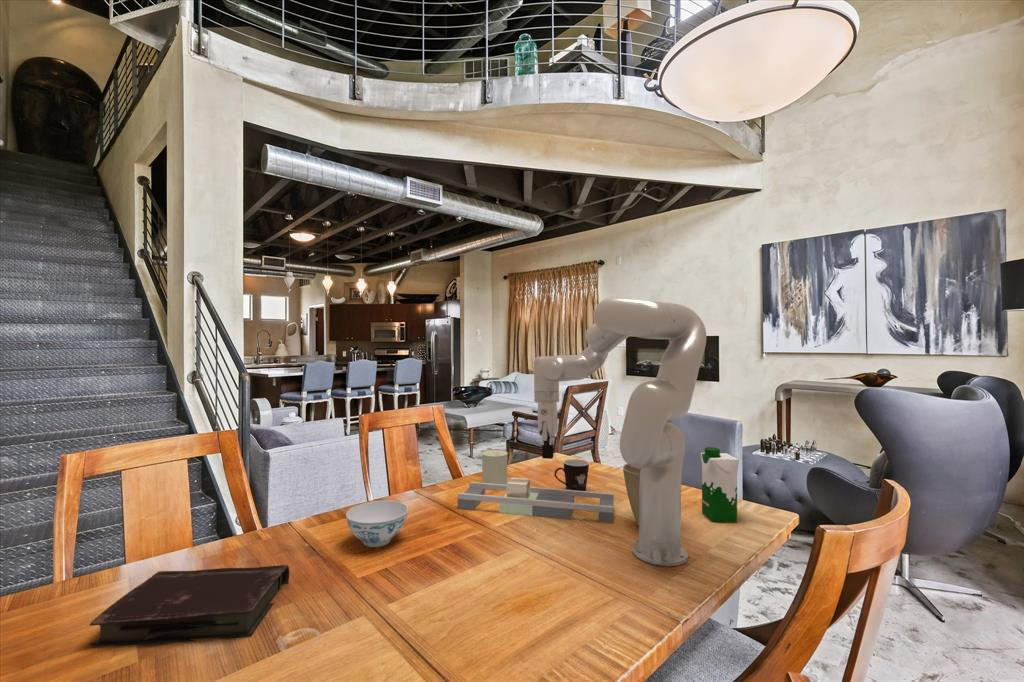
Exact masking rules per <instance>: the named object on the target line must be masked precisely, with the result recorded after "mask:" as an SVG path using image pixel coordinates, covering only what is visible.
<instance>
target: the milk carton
mask: <svg viewBox="0 0 1024 682" xmlns="http://www.w3.org/2000/svg"><path fill="white" fill-rule="evenodd" d="M700 460H701V468H702V469H701V513H702V514H703V515H704V516H705V517H706V518H707V519H708V520H709V521H710V522H711V523H738V469H739V461H740V459H738V458H737V457H734V456H732V455H731V454H728V453H727V452H725V453H724V452H723V453H722V452H721V449H720V448H718V447H712V446H708V447H704V452H700Z"/></svg>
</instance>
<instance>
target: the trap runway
mask: <svg viewBox="0 0 1024 682" xmlns="http://www.w3.org/2000/svg"><path fill="white" fill-rule="evenodd" d="M468 486H469V487H468V488H467V489H466V490H464V492H458V493H457V509H458V510H459V509H460V510H469V511H474V510H475V509H476V508H477V507H478V506H479V504H480V503H481V502H489V503H499V504H498V505H499V507H498V508H499V509H498V513H500V514H509V515H510V514H511V515H519V516H520V515H521V516H530V517H541V518H550V519H551V518H552V519H560V520H561V519H562V520H571V518H572V513H573V511H574V510H578V511H589V512H590V511H591V512H598V523H602V522H604V523H603V524H612V523H613V524H614V509H615V508H614V504H615V503H614V499H615V498H614V496H615V494H614V493H611V492H610V493H609V492H597V491H576V490H566V489H561V488H552V487H551V488H550V487H537V486H530V496H529V497H528V499H525V498H513V497H507V485H502V484H490V483H482V482H475V481H474V482H473V481H470V482H469V485H468ZM490 489H494V490H493V491H495V490H497V491H506V492H505V494H504V495H503V496H501V495H488V494H486V490H490ZM575 497H580V498H588V499H589V498H591V499H600V500H599V504H593V503H592V504H591V503H581V502H580V503H578V502H575Z"/></svg>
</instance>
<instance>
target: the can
mask: <svg viewBox="0 0 1024 682" xmlns="http://www.w3.org/2000/svg"><path fill="white" fill-rule="evenodd" d="M508 456H509V453H508V451H506V450H502V449H501V450H499V449H490V450H489V449H488V450H484V451H483V452H481V460H482V461H481V462H482V463H481V464H482V468H481V471H482V473H481V474H482V475H481V483H490V484H502V485H507V482H508V458H509V457H508ZM490 490H491V491H495V490H494V489H489V491H490Z"/></svg>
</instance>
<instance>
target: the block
mask: <svg viewBox="0 0 1024 682" xmlns="http://www.w3.org/2000/svg"><path fill="white" fill-rule="evenodd" d="M530 487H531V479H530V478H523V477H510V478H509V480H507V491H506V493H507V497H513V498H525V499H528V497H529V496H530Z"/></svg>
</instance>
